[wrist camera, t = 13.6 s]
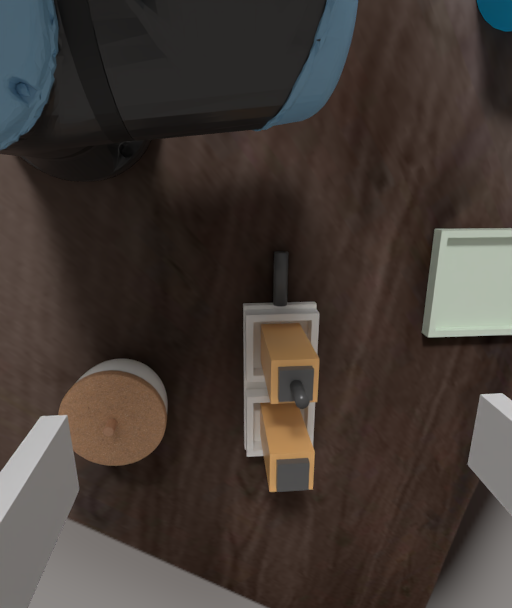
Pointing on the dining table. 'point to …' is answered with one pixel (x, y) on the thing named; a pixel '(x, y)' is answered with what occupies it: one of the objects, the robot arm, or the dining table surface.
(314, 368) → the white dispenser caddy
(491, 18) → the mug
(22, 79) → the robot arm
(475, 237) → the tray
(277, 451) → the orange capped pillar
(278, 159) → the dining table surface
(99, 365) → the lidded jar
